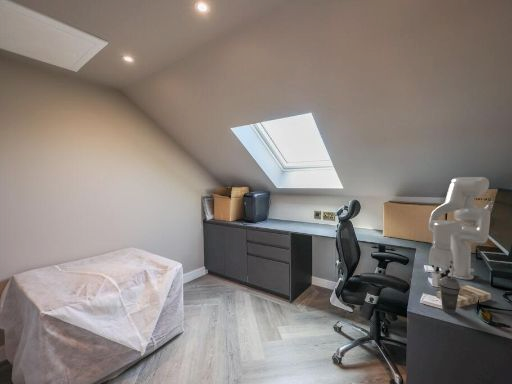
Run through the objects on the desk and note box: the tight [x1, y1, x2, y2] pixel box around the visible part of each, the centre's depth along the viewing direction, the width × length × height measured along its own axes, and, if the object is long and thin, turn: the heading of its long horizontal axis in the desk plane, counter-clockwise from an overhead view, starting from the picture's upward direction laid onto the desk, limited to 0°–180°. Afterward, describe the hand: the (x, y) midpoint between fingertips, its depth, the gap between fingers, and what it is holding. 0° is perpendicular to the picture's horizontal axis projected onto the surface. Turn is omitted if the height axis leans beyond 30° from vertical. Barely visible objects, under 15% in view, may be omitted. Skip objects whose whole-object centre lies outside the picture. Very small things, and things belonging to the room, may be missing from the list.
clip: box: [430, 269, 451, 288], centre depth 129 cm, size 10×3×7 cm, turn 107°
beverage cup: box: [439, 268, 461, 315], centre depth 106 cm, size 7×7×20 cm
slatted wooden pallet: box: [436, 284, 492, 308], centre depth 118 cm, size 22×10×3 cm, turn 107°
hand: (441, 279), depth 129 cm, fingers closed on clip, 3 cm apart
